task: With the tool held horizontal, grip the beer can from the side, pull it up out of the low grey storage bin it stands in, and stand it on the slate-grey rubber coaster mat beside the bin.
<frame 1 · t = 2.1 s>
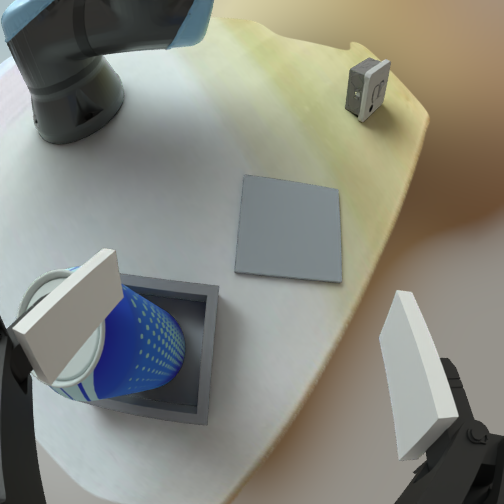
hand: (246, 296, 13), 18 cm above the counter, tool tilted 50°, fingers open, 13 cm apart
beer can: (149, 347, 28), resting in grey storage bin, touching gripper
coaster mat: (291, 227, 35), on the counter
electrical switch: (358, 105, 45), on the counter
grey storage bin: (149, 347, 29), on the counter
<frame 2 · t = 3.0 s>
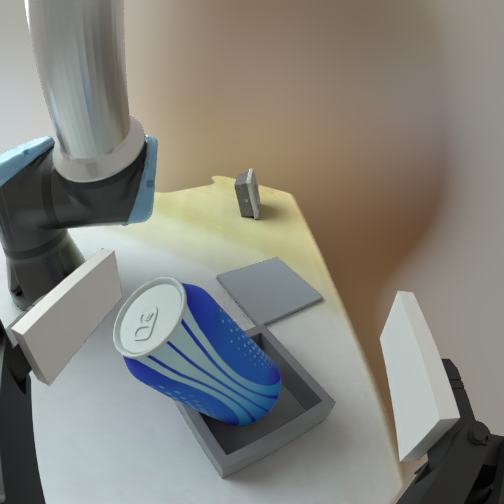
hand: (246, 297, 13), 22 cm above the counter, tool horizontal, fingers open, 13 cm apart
beer can: (248, 392, 30), point 2 cm above the counter, touching grey storage bin
coaster mat: (268, 289, 47), on the counter
electrical switch: (247, 211, 70), on the counter
grey storage bin: (243, 404, 30), on the counter
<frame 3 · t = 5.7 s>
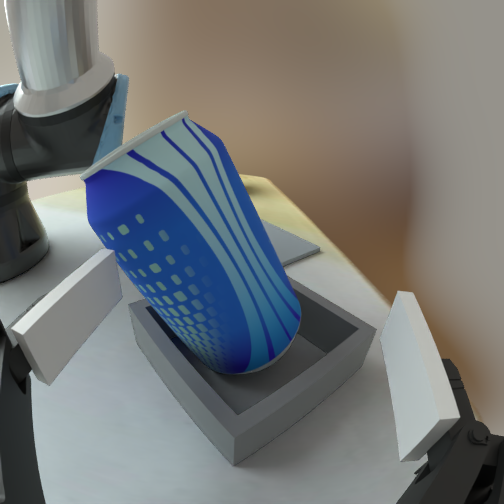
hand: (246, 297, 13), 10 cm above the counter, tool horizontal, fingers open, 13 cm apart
beer can: (254, 337, 22), point 2 cm above the counter
coaster mat: (257, 245, 41), on the counter
grey storage bin: (247, 359, 22), on the counter
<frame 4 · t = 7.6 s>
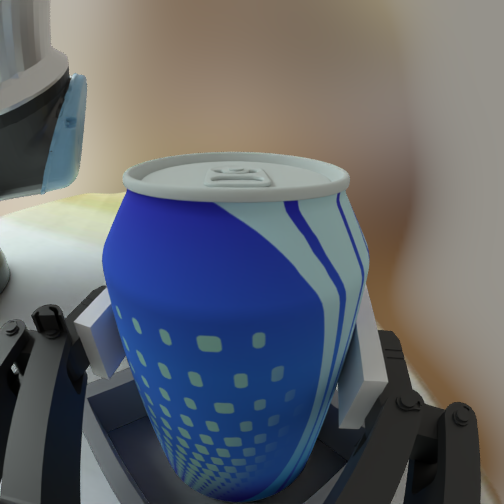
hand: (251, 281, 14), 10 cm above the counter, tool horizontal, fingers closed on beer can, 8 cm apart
beer can: (237, 450, 15), resting in grey storage bin, touching gripper
grey storage bin: (224, 459, 15), on the counter
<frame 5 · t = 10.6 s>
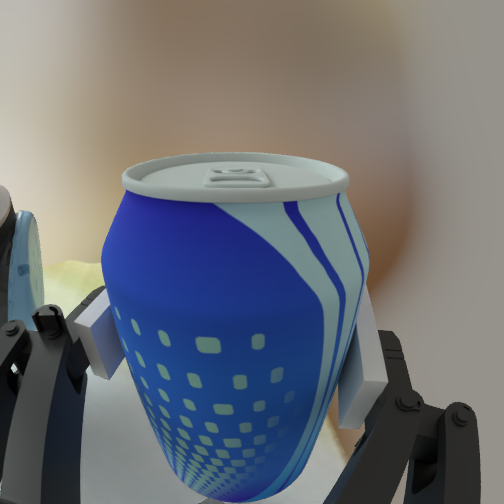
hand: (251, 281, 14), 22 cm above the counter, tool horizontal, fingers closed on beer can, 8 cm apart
beer can: (237, 450, 15), point 12 cm above the counter, touching gripper
when the fingers open (12 cm above the counter, at t = 13.7 s): beer can drops 2 cm, resting on coaster mat.
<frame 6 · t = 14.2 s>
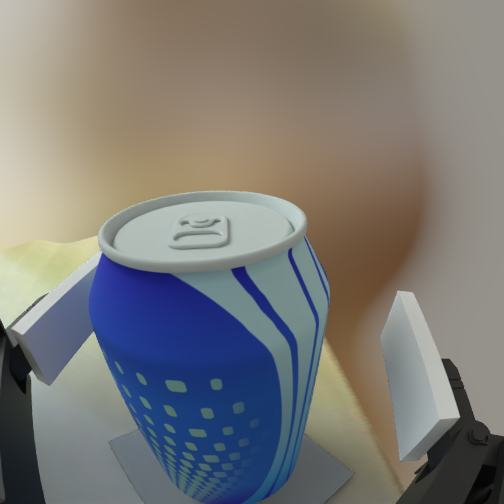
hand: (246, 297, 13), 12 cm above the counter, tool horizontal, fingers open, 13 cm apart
beer can: (230, 459, 16), point 1 cm above the counter, touching coaster mat
coaster mat: (227, 472, 16), on the counter
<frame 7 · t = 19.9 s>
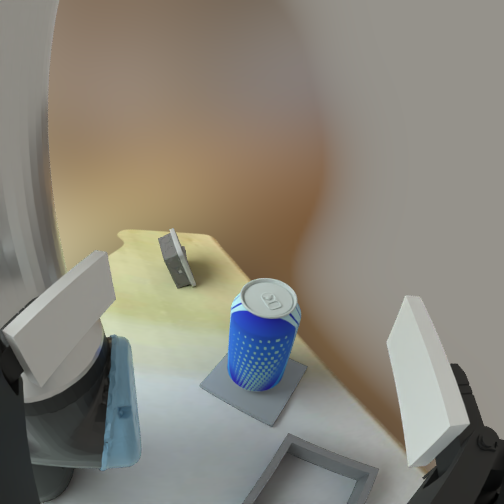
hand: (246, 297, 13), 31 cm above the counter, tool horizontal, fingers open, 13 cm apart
beer can: (254, 373, 43), resting on coaster mat
coaster mat: (255, 378, 43), on the counter
electrical switch: (179, 277, 61), on the counter
grey storage bin: (304, 500, 27), on the counter
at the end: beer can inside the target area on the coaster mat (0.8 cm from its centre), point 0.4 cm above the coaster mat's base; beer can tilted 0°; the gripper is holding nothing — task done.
